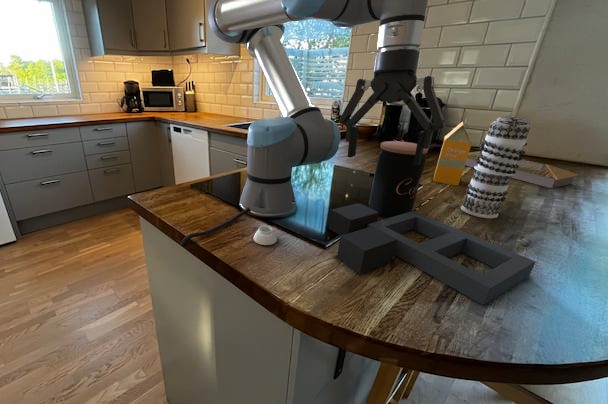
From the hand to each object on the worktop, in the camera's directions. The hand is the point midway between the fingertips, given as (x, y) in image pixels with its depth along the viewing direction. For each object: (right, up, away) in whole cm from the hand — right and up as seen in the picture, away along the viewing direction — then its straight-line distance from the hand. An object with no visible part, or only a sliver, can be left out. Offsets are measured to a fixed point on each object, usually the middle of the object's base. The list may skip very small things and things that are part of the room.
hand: (382, 160), depth 64 cm
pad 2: (-6, -20, -5) cm, 22 cm away
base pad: (+10, -20, -3) cm, 23 cm away
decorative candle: (+35, -12, +18) cm, 41 cm away
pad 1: (-4, -16, +6) cm, 17 cm away
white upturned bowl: (-25, -18, +1) cm, 31 cm away
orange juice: (+42, -1, +42) cm, 59 cm away
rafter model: (+73, +3, +53) cm, 90 cm away
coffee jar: (+9, -12, +16) cm, 22 cm away
